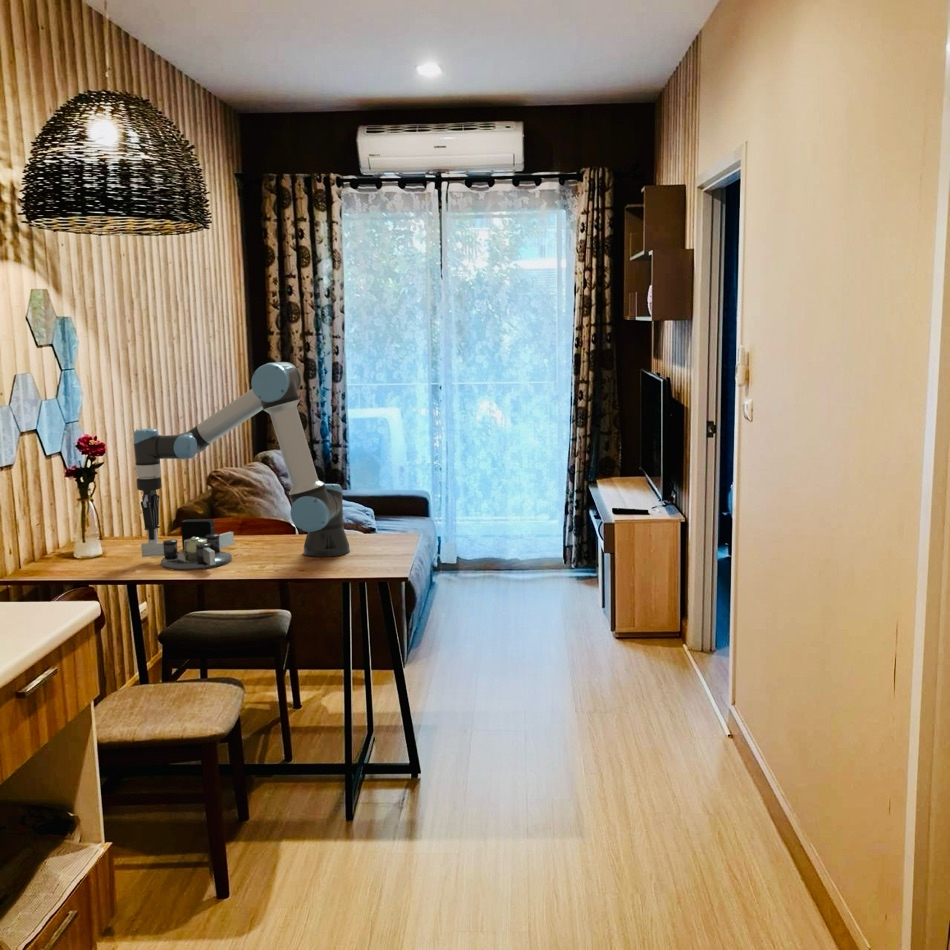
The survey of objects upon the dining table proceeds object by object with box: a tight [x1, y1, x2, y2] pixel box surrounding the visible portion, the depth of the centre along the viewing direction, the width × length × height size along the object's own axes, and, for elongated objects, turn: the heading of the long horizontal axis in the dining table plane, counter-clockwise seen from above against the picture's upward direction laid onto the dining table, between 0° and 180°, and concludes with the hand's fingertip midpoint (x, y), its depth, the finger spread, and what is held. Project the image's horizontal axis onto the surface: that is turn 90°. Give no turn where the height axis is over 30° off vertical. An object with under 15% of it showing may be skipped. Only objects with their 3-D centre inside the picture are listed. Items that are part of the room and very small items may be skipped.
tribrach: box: [160, 537, 233, 571], centre depth 311 cm, size 22×22×8 cm
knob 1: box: [140, 538, 179, 560], centre depth 310 cm, size 11×4×6 cm, turn 93°
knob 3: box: [206, 531, 235, 553], centre depth 321 cm, size 11×4×6 cm, turn 153°
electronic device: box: [180, 518, 215, 551], centre depth 330 cm, size 4×10×10 cm, turn 89°
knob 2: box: [196, 543, 215, 565], centre depth 301 cm, size 11×4×6 cm, turn 33°
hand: (153, 548), depth 314 cm, fingers closed
